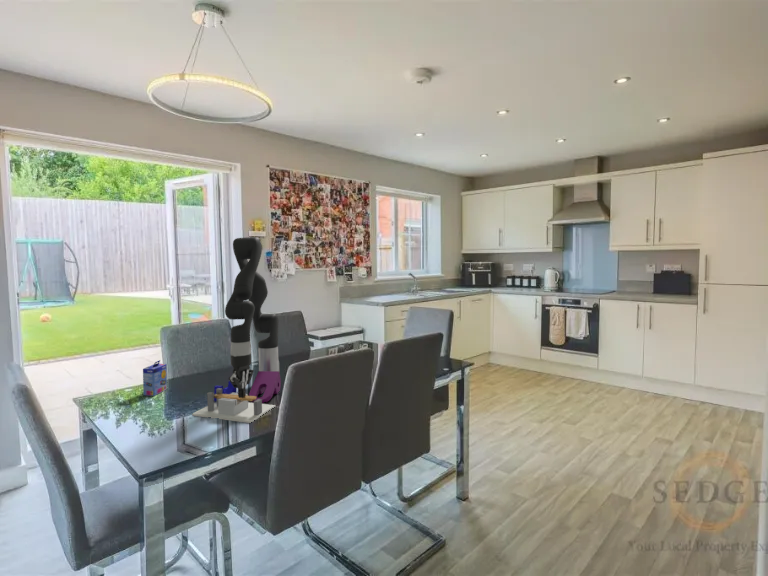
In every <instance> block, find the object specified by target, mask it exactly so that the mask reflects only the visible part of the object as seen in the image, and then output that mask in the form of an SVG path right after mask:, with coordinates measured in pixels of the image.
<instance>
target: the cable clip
mask: <svg viewBox="0 0 768 576" xmlns="http://www.w3.org/2000/svg"><path fill="white" fill-rule="evenodd" d="M217 388H221V389H222V394H232V393H237V388H234V387H233V385H232V384H231V382H230V381H229V380H228V384H227V387H224V385H214V390H213V393H214V394H216V389H217ZM214 402H217V399H216V398H214Z"/></svg>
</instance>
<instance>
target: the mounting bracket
mask: <svg viewBox="0 0 768 576" xmlns="http://www.w3.org/2000/svg"><path fill="white" fill-rule="evenodd" d="M281 386H282V379H281V374H280V370H279V371H259V370H258V371H257V374H256V376H255V378H254V381H253V383H252V385H251V388H250V391H249V393H248V396H256V399H255V400H253V401H250V402H251V403H254V401H256V400H257V399H262V404H265V403H264V402H266V403H268V402H269V401H270V400H271V399H272V398H273V396H274V395H279V393H280V392H279V391H281V388H282V387H281ZM263 392H264V393H263ZM278 392H279V393H278ZM262 393H263V394H262ZM259 395H262V396H261V397H258V396H259Z"/></svg>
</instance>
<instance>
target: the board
mask: <svg viewBox="0 0 768 576" xmlns="http://www.w3.org/2000/svg"><path fill="white" fill-rule="evenodd" d="M216 393H219V394H222V389H221V388H217V389H216ZM232 395H238V392H236V393H232ZM246 396H249V393H246ZM206 397H207V405H206V406H204V407H203V408H201V409H199V410H197V411H195V412H193V413H192V416H193V417H203V418H208V417H211V419H215V418H219V419H218V420H226V421H230V422H231V421H232V422H240V423H248V424H251V422H252V423H253V422H254V420H255V421H256V420H258V419H260V418H261V417H263V416H264V415H266V414H267V413H269V412H270V411H272V410H273V409H272V408H274V407H275V408H276V404H268V403H262V399H257V400H256V401H254V403H252V402H251V401H244V400H236V399H227V398H221V399H218V398H216V399H217V401H214V391H212V392H211V391H209V392H207V393H206ZM275 408H274V409H275ZM271 409H272V410H271ZM269 410H270V411H269ZM268 411H269V412H268ZM266 412H267V413H266ZM265 413H266V414H265ZM263 414H264V415H263ZM262 415H263V416H262ZM260 416H261V417H260Z"/></svg>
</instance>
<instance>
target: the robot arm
mask: <svg viewBox="0 0 768 576" xmlns="http://www.w3.org/2000/svg"><path fill="white" fill-rule="evenodd" d="M262 245H263V244H262V242H261V240H260V238H259V237H256V236H250V237H248V236H246V237H236V238H234V240H233V241H232V249H233V253H234V257H235V260H236V263H237V264H238V267H239V270H240V271H239V272H238V273H237V275H236V277H235V279H234V284H233V291H232V293H231V296H229V297H230V298H229V300H228V301H227V303H226V305H225V309H224V314H225V316H226V317H227V319H229V320H232V321H233V320H244V321H243V322H242V324H237V325H234V326H232V327H231V328H230V365H231V367H233V369H232V374H231V376H228V382H229V381H230V382H231V384H232V385H233V387H234V388H236V389H237V393H238V397H240V398H243V397H245V396H246V394H247V392H246V391H247V390H246V389H247V385H249V384H250V382H251V379H252V378H253V375H254V369H251V367H250V366H251V365H252V364H253V363H252V343H251V327H252V322H253V326H254V329H255V332H256V333H259V334H269V336H268V337H266V338H263V339H261V340H259V341H258V344H257V349H258V371H279V372H280V361H279V317H278V314H275V313H262V310H261V309H262V307H263V305H264V303H265V301H266V300H267V297H268V295H269V294H268V293H269V291H268V287H267V283H266V280H265V278H264V276H263V275H261V273H260V272H258V271H257V270H258V267H259V264H260V260H261V257H262V252H263V247H262Z"/></svg>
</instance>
